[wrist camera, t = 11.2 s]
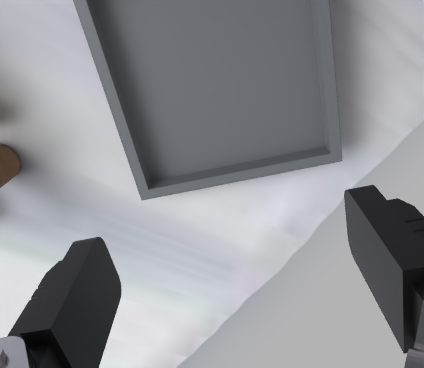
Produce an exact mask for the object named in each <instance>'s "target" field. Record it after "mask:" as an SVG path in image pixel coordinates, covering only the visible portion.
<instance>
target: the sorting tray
mask: <svg viewBox="0 0 424 368" xmlns="http://www.w3.org/2000/svg"><path fill="white" fill-rule="evenodd" d="M73 1H74V4H75V7H76V10H77V13H78V16H79V19H80V22H81V25H82V27H83V30H84V33H85V36H86V39H87V42H88V45H89V48H90V51H91V54H92V57H93V60H94V63H95V65H96V68H97V71H98V74H99V77H100V80H101V83H102V86H103V89H104V92H105V95H106V98H107V100H108V103H109V106H110V109H111V112H112V115H113V118H114V121H115V124H116V127H117V130H118V133H119V136H120V138H121V141H122V144H123V147H124V150H125V153H126V156H127V159H128V162H129V165H130V168H131V171H132V173H133V176H134V179H135V182H136V185H137V188H138V191H139V194H140V197H141V200H146V199H152V198H157V197H162V196H167V195H172V194H177V193H182V192H187V191H192V190H197V189H202V188H207V187H213V186H218V185H223V184H228V183H233V182H238V181H243V180H248V179H253V178H258V177H263V176H269V175H274V174H279V173H284V172H289V171H294V170H299V169H304V168H309V167H314V166H319V165H325V164H330V163H335V162H340V161H342V150H341V138H340V126H339V114H338V102H337V90H336V78H335V66H334V54H333V42H332V30H331V18H330V6H329V0H73Z"/></svg>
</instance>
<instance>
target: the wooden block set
mask: <svg viewBox="0 0 424 368" xmlns="http://www.w3.org/2000/svg"><path fill="white" fill-rule="evenodd" d="M19 170H20V161H19V158H18V156H17V155H16V154H15V153H14V152H13V151H12V150H11V149H9V148H7V147H5V146H2V145H0V188H1V187H2V186H3V185H4V184H6V183H7V182H8V181H9V180H11V179H12V178H13V177H14V176H16V175H17V174H18V172H19Z"/></svg>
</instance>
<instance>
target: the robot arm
mask: <svg viewBox="0 0 424 368" xmlns="http://www.w3.org/2000/svg"><path fill="white" fill-rule="evenodd" d="M344 199H345V210H346V221H347V232H348V241H349V246H350V249H351V253H352V255H353V258H354V260H355V262H356V264H357V265H358V267H359V269H360V271H361V273H362V275H363V277H364V278H365V281H366V282H367V284H368V286H369V288H370V290H371V292H372V294H373V296H374V298H375V300H376V301H377V303H378V305H379V307H380V309H381V311H382V313H383V315H384V316H385V319H386V320H387V322H388V324H389V326H390V328H391V330H392V332H393V334H394V335H395V337H396V339H397V341H398V343H399V345H400V347H401V349H402V351H403V353H408V354H407V358H406V362H405V367H404V368H424V216H423V215H422V214H421V213H420V212H419V211H418V210H417V209H416V208H415V206H413V205H410V204H408V203H406V202H404V201H402V200H400V199H398V198H397V199H393V200H386V199H385V197H384V196H383V195H382V194H381V193H380V192H379V190H378V189H377V188H376V187H375V186H374V185H369V186H364V187H359V188H354V189H348V190H345V193H344ZM120 298H121V282H120V278H119V276H118V273H117V271H116V268H115V266H114V264H113V261H112V259H111V256H110V254H109V252H108V249H107V247H106V244H105V242H104V241H103V239H102V238H101V237H95V238H90V239H85V240H80V241H75V242H73V244H72V245H71V247H70V248H69V250H68V252H67V254H66V255H65V257H64V259H63V260H62V261H59V262H58V263H57V264H56V265H55V266H54V267H52V268H51V269H50V270H49V271H48V272H47V273H46V274H45V276H44V278H43V279H42V281H41V282H40V284H39V286H38V289H36V291H35V292H34V294H33V295H32V297H31V300H29V302H28V304H27V305H26V307H25V308H24V310H23V312H22V313H21V315H20V316H19V318H18V320H17V321H16V323H15V325H14V326H13V328H12V329H11V331H10V333H9V334H8V336H7V337H3V338H0V368H99V365H100V362H101V358H102V355H103V352H104V349H105V346H106V343H107V339H108V336H109V333H110V330H111V327H112V324H113V321H114V317H115V314H116V311H117V308H118V305H119V302H120Z"/></svg>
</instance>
